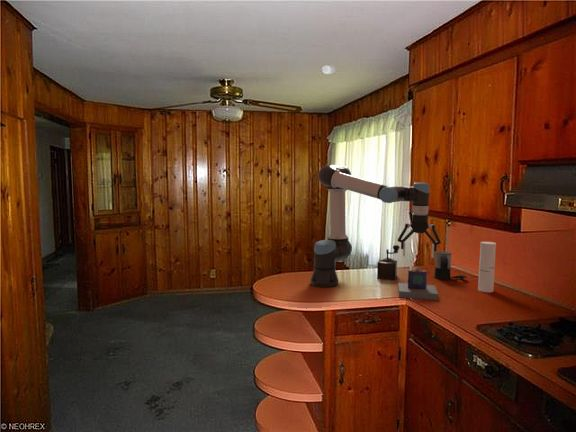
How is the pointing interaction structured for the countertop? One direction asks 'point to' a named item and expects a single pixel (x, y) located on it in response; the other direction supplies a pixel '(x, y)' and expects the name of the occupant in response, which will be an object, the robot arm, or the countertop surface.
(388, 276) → the coffee grinder
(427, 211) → the robot arm
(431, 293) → the base board
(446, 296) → the countertop surface
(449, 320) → the countertop surface
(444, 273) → the milk frother
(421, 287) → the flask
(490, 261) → the cylindrical container
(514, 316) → the countertop surface
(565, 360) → the countertop surface
